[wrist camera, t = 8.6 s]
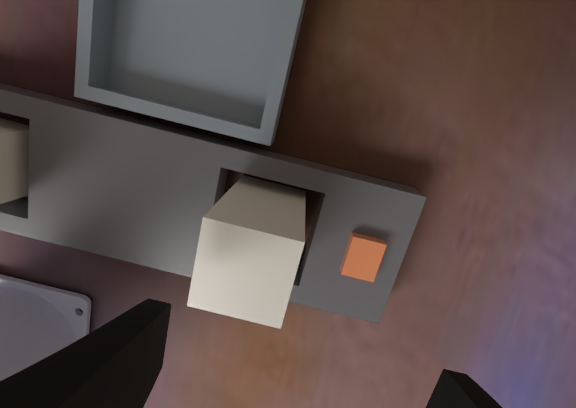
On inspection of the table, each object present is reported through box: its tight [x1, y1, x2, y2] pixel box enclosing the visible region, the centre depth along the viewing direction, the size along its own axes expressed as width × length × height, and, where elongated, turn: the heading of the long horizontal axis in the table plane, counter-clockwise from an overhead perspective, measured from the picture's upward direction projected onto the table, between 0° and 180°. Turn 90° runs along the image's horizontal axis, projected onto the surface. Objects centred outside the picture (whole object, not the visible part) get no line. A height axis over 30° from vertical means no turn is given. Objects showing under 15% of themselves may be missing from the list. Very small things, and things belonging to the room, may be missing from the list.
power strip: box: [0, 83, 427, 324], centre depth 17 cm, size 7×25×3 cm, turn 76°
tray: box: [74, 0, 307, 146], centre depth 14 cm, size 9×9×2 cm
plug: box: [187, 175, 306, 329], centre depth 14 cm, size 3×3×7 cm
